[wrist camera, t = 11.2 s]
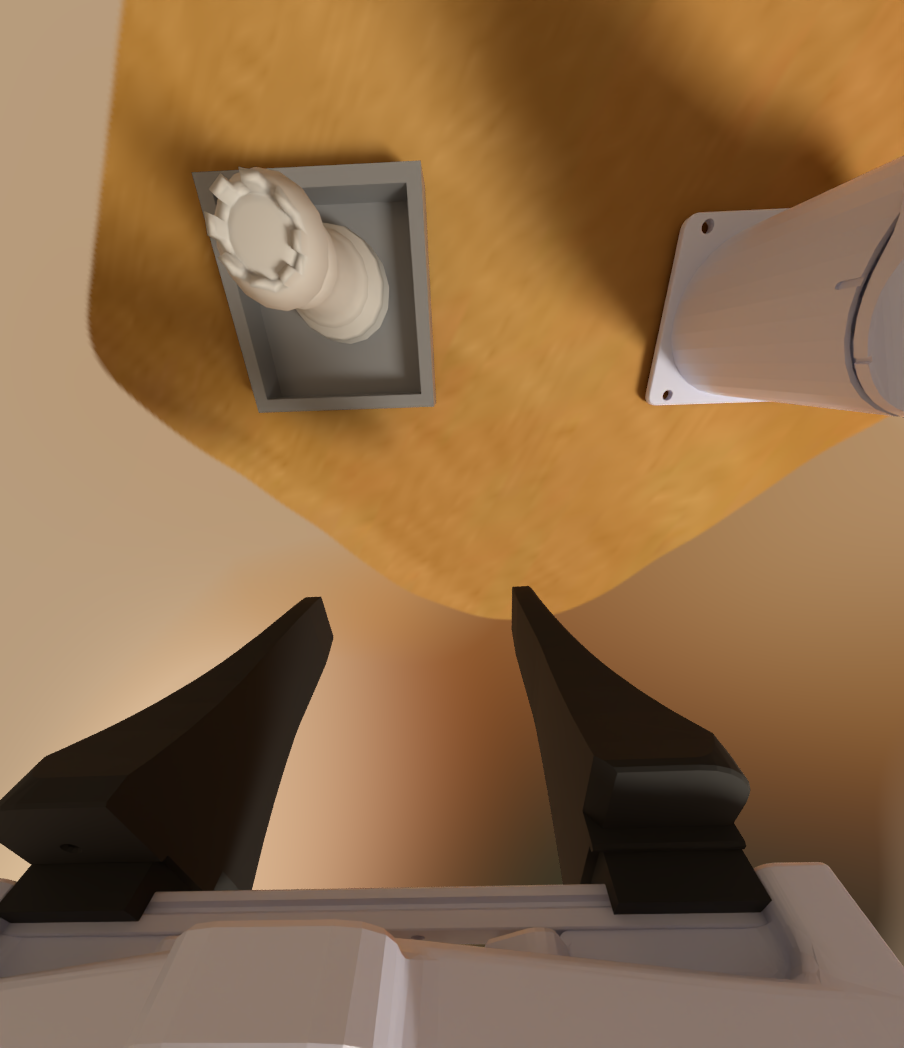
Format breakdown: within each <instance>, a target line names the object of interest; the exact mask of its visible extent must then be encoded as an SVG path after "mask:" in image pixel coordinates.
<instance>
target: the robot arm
mask: <svg viewBox="0 0 904 1048" xmlns="http://www.w3.org/2000/svg"><path fill="white" fill-rule="evenodd" d="M704 222H706V223H707V225H708V230H707V232H706V234H704V233H703V232H702V225H703V223H704ZM665 391H668V396H667V398H666V399H663V394H664V392H665ZM645 399H646V402H647V403H648V404H651V405H679V404H708V403H737V402H765V401H772V402H781V403H789V404H798V405H806V406H814V407H823V408H831V409H840V410H848V411H857V412H865V413H873V414H882V415H890V416H900V417H903V418H904V156H902V157H899V158H897V159H895V160H893V161H891V162H889V163H887V164H884V165H882V166H880V167H878V168H876V169H874V170H871V171H869V172H867V173H865V174H863V175H861V176H859V177H856V178H854V179H852V180H850V181H848V182H846V183H843V184H841V185H839V186H837V187H835V188H833V189H830V190H828V191H826V192H824V193H822V194H820V195H818V196H815V197H813V198H811V199H809V200H807V201H805V202H802V203H800V204H798V205H796V206H794V207H792V208H782V209H761V210H740V211H719V212H699V213H695V214H693V215H692V216H690V217H689V218H687V219H686V220H685V222H684V223H683V224H682V227H681V229H680V234H679V238H678V243H677V248H676V253H675V257H674V262H673V267H672V272H671V276H670V281H669V286H668V291H667V295H666V300H665V305H664V310H663V314H662V319H661V324H660V329H659V333H658V338H657V343H656V348H655V352H654V357H653V362H652V367H651V371H650V376H649V381H648V386H647V390H646V395H645ZM512 634H513V640H514V646H515V651H516V657H517V660H518V663H519V668H520V671H521V675H522V678H523V682H524V685H525V689H526V692H527V696H528V699H529V703H530V707H531V710H532V714H533V717H534V722H535V726H536V731H537V736H538V741H539V746H540V752H541V757H542V763H543V768H544V774H545V779H546V785H547V790H548V796H549V802H550V808H551V814H552V820H553V826H554V832H555V837H556V844H557V850H558V856H559V863H560V868H561V875H562V881H563V885H525V886H524V885H523V886H522V885H520V886H468V887H467V886H464V887H412V888H411V887H410V888H409V887H408V888H351V889H300V890H299V889H296V890H252V887H253V883H254V879H255V875H256V870H257V866H258V862H259V858H260V854H261V850H262V846H263V842H264V838H265V834H266V831H267V827H268V823H269V820H270V816H271V813H272V808H273V805H274V802H275V798H276V795H277V792H278V788H279V785H280V781H281V778H282V775H283V772H284V768H285V765H286V762H287V759H288V756H289V753H290V750H291V747H292V744H293V741H294V738H295V735H296V733H297V730H298V727H299V725H300V722H301V720H302V717H303V716H304V713H305V711H306V709H307V706H308V704H309V702H310V700H311V697H312V695H313V692H314V690H315V688H316V686H317V683H318V681H319V679H320V676H321V674H322V672H323V669H324V667H325V665H326V662H327V659H328V655H329V652H330V648H331V645H332V641H333V634H332V631H331V627H330V624H329V621H328V618H327V614H326V612H325V608H324V604H323V601H322V598H321V597H306V598H304V599H303V600H301V601H300V602H299V603H298V604H296V605H295V606H294V607H292V608H291V609H290V610H289V611H287V612H286V613H285V614H284V615H283V616H282V617H280V618H279V619H278V620H276V622H274V623H273V624H272V625H271V626H269V627H268V628H267V629H265V630H264V631H263V632H262V633H261V634H259V635H258V636H257V637H255V638H254V639H253V640H251V641H250V642H249V643H247V644H246V645H245V646H244V647H242V648H241V649H240V650H238V651H237V652H236V653H234V654H233V655H231V656H230V657H229V658H227V659H226V660H224V661H223V662H222V663H220V664H219V665H217V666H216V667H214V668H213V669H211V670H210V671H208V672H207V673H205V674H204V675H202V676H201V677H199V678H197V679H196V680H194V681H193V682H191V683H189V684H188V685H186V686H184V687H183V688H181V689H179V690H177V691H176V692H174V693H172V694H171V695H169V696H167V697H166V698H164V699H162V700H160V701H159V702H157V703H155V704H153V705H151V706H150V707H148V708H146V709H144V710H142V711H140V712H138V713H136V714H135V715H133V716H131V717H129V718H127V719H125V720H123V721H121V722H119V723H117V724H115V725H113V726H111V727H109V728H107V729H105V730H103V731H100V732H98V733H96V734H94V735H92V736H90V737H88V738H85V739H83V740H81V741H79V742H77V743H75V744H72V745H70V746H68V747H66V748H63V749H61V750H59V751H57V752H55V753H52V754H50V755H48V756H46V757H44V758H43V759H42V760H41V761H40V762H39V763H38V764H37V765H36V766H35V767H34V768H33V769H32V770H31V771H30V772H29V773H28V774H27V775H26V776H25V777H23V779H21V781H19V782H18V783H17V784H16V785H15V786H14V787H13V788H12V789H11V790H10V791H9V792H8V793H7V794H6V795H5V796H4V797H3V798H2V799H1V800H0V843H1V844H2V845H4V846H6V847H7V848H8V849H10V850H11V851H13V852H14V853H15V854H17V855H18V856H20V857H21V858H23V859H24V860H25V861H27V862H28V863H30V864H32V865H31V866H30V867H29V868H28V870H27V871H26V872H25V873H24V874H23V876H22V877H21V878H20V879H19V880H18V882H16V881H12V880H8V879H1V878H0V1048H904V967H903V966H902V964H901V963H900V961H899V960H898V959H897V957H896V956H895V955H894V953H893V952H892V951H891V949H890V948H889V947H888V945H887V944H886V943H885V941H884V940H883V939H882V937H881V936H880V935H879V933H878V932H877V931H876V929H875V928H874V926H873V925H872V924H871V922H870V921H869V920H868V918H867V917H866V916H865V914H864V913H863V912H862V910H861V909H860V908H859V907H858V905H857V904H856V902H855V901H854V900H853V898H852V897H851V896H850V894H849V893H848V892H847V890H846V889H845V888H844V886H843V885H842V884H841V882H840V881H839V880H838V878H837V877H836V876H835V874H834V873H833V872H832V870H831V869H830V868H829V866H828V865H825V864H824V863H822V862H800V863H798V862H797V863H769V864H764V865H760V866H757V867H756V868H754V869H753V868H752V866H751V864H750V862H749V861H748V859H747V857H746V856H745V854H744V852H743V851H742V849H745V847H746V844H745V841H744V839H743V837H742V836H741V834H740V833H739V831H738V829H737V828H736V826H735V824H734V821H735V820H736V818H737V817H738V815H739V813H740V812H741V810H742V809H743V807H744V805H745V804H746V802H747V799H748V796H749V793H750V786H749V781H748V780H747V778H746V777H745V776H744V774H743V773H742V771H741V770H740V768H739V767H738V766H737V764H736V763H735V761H734V760H733V758H732V757H731V756H730V754H729V753H728V752H727V750H726V749H725V748H724V747H723V745H721V743H720V742H719V741H718V740H717V738H716V737H715V736H714V734H713V733H711V732H710V731H708V730H706V729H704V728H702V727H701V726H699V725H697V724H695V723H693V722H692V721H690V720H688V719H686V718H684V717H683V716H681V715H679V714H677V713H675V712H674V711H672V710H670V709H668V708H667V707H665V706H664V705H662V704H660V703H659V702H657V701H656V700H654V699H652V698H651V697H649V696H648V695H646V694H645V693H643V692H642V691H640V690H638V689H637V688H636V687H634V686H633V685H631V684H630V683H629V682H627V681H626V680H625V679H623V678H622V677H620V676H619V675H618V674H616V673H615V672H613V671H612V670H611V669H610V668H608V667H607V666H606V665H604V664H603V663H602V662H601V661H600V660H598V659H597V658H596V657H595V656H594V655H593V654H591V653H590V652H589V651H588V650H587V649H586V648H585V647H584V646H583V645H581V644H580V643H579V642H578V641H577V640H576V639H575V638H574V637H573V636H572V635H571V634H570V633H569V632H568V631H567V630H566V629H565V628H564V627H563V625H562V624H561V623H560V622H559V621H558V620H557V619H556V618H555V617H554V616H553V614H552V613H551V612H550V611H549V610H548V609H547V607H546V606H545V605H544V604H543V603H542V601H541V600H540V599H539V598H538V596H537V595H536V594H535V592H534V591H533V590H532V588H530V587H529V586H521V587H512ZM458 944H486V945H485V947H476V946H467V945H458Z"/></svg>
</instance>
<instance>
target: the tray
mask: <svg viewBox="0 0 904 1048" xmlns="http://www.w3.org/2000/svg"><path fill="white" fill-rule="evenodd" d="M267 169H269V170H274V171H279V172H281V173H282V174H283V175H285V176H286V177H288V178H289V179H290V180H292V181H293V182H294V183H296V184H297V185H299V186H300V187H301V188H302V189H303V190H304V192H305V193H306V195H307V196H308V197H309V199H310V200H311V202H312V203H313V205H314V206H315V208H316V209H317V210H318V212H319V214H320V217H321V220H322V223H329V224H334V225H339V226H344V227H347V228H348V229H350V230H351V231H352V232H354V233H355V234H357V235H358V236H359V237H361V238H362V239H363V240H365V242H366V243H368V244H369V245H370V246H371V247H372V249H373V250H374V252H375V253H376V255H377V256H378V258H379V259H380V261H381V262H382V264H383V266H384V270H385V274H386V277H387V281H388V285H389V300H388V310H387V313H386V315H385V317H384V319H383V322H382V324H381V326H380V328H379V329H378V330H377V331H375V332H374V333H373V334H372V335H371V336H370V337H369V338H368V339H366V340H363V341H359V342H356V343H353V344H347V343H341V342H336V341H332V340H331V339H328V338H326V337H324V336H323V335H321V334H319V333H318V332H316V331H315V330H313V329H312V328H310V327H309V326H308V324H307V323H306V322H305V321H304V319H303V318H302V317H301V315H300V314H299V313H298V312H297V310H296V309H293V310H290V311H283V310H278V309H272V308H266V307H265V306H263V305H262V304H260V303H258V302H257V301H255V300H254V299H252V298H250V297H249V296H247V295H246V294H245V293H244V292H243V291H242V289H241V288H240V287H239V286H238V285H237V283H236V282H235V281H234V280H233V279H232V277H231V276H230V275H229V274H228V271H227V269H226V268H225V266H224V265H223V264H222V263H221V262H220V260H219V259H218V257H219V256H220V253H219V251H218V249H217V243H216V240H215V239H214V238H212V237H210V240H211V243H212V247H213V251H214V254H215V258H216V261H217V265H218V268H219V272H220V276H221V279H222V283H223V286H224V290H225V293H226V297H227V301H228V304H229V308H230V311H231V315H232V318H233V322H234V326H235V329H236V333H237V336H238V340H239V343H240V347H241V351H242V354H243V358H244V361H245V365H246V368H247V372H248V376H249V379H250V383H251V386H252V390H253V393H254V397H255V401H256V404H257V408H258V411H259V413H263V412H291V411H320V410H348V409H377V408H405V407H433V406H434V405H435V403H436V393H435V374H434V354H433V335H432V316H431V297H430V278H429V259H428V240H427V221H426V202H425V185H424V179H423V173H422V167H421V161H403V162H384V163H364V164H345V165H326V166H306V167H287V168H267ZM220 173H221V174H222V175H223V176H224V177H226V178H227V179H228V180H230V179H231V177H232V176H233V175H234V174H236V173H239V170H228V171H209V172H192V176H193V179H194V183H195V186H196V190H197V193H198V197H199V201H200V204H201V208H202V211H203V215H204V211H205V212H207V213H210V214H212V215H214V214H215V210H216V205H217V200H218V198H217V197H216V196H215V195H214V194H213V193H212V192H211V191H210V190H209V188H210V186H211V185H212V184H213V182H214V181H215V180H216V178H217V177H218V176H219V174H220ZM204 218H205V215H204Z"/></svg>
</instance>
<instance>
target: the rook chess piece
mask: <svg viewBox="0 0 904 1048" xmlns="http://www.w3.org/2000/svg"><path fill="white" fill-rule="evenodd" d="M238 168H239V173H236V174H234V175H233V176H232V177H231V179H230V180H228V179H227V178H226V177H224V176H223V175H222V174H221V173H220V174H219V176H218V177H217V178H216V180H215V181H214V182H213V184H212V185H211V186H210V188H209V190H210V191H211V192H212V193H213V194H214V195H215V196H216V197H217V198H218V200H217V205H216V210H215V214H214V215H212V214H210V213H207V212H205V211H204V215H205V222H206V230H207V235H208V236H210V237H212V238H214V239H215V240H216V243H217V249H218V251H219V253H220V256H219V257H218V259H219V260H220V262H221V263H222V264H223V265H224V266H225V268H226V269H227V271H228V274H229V275H230V276H231V277H232V279H233V280H234V281H235V282H236V283H237V285H238V286H239V287H240V288H241V289H242V291H243V292H244V293H245V294H246V295H247V296H249V297H250V298H252V299H254V300H255V301H257V302H258V303H260V304H262V305H263V306H265V307H266V308H272V309H278V310H283V311H290V310H293V309H296V310H297V312H298V313H299V314H300V315H301V317H302V318H303V319H304V321H305V322H306V323H307V324H308V326H309V327H310V328H312V329H313V330H315V331H316V332H318V333H319V334H321V335H323V336H324V337H326V338H328V339H331V340H332V341H336V342H341V343H347V344H353V343H356V342H359V341H363V340H366V339H368V338H369V337H370V336H371V335H372V334H373V333H374V332H375V331H377V330H378V329H379V328H380V326H381V324H382V322H383V319H384V317H385V315H386V313H387V310H388V300H389V285H388V281H387V277H386V274H385V270H384V266H383V264H382V262H381V261H380V259H379V258H378V256H377V255H376V253H375V252H374V250H373V249H372V247H371V246H370V245H369V244H368V243H366V242H365V240H363V239H362V238H361V237H359V236H358V235H357V234H355V233H354V232H352V231H351V230H350V229H348V228H347V227H344V226H339V225H334V224H329V223H322V220H321V217H320V214H319V212H318V210H317V209H316V208H315V206H314V205H313V203H312V202H311V200H310V199H309V197H308V196H307V195H306V193H305V192H304V190H303V189H302V188H301V187H300V186H299V185H297V184H296V183H294V182H293V181H292V180H290V179H289V178H288V177H286V176H285V175H283V174H282V173H281V172H279V171H274V170H269V169H264V168H259V167H253V168H250V169H248V168H243V167H238Z"/></svg>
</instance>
